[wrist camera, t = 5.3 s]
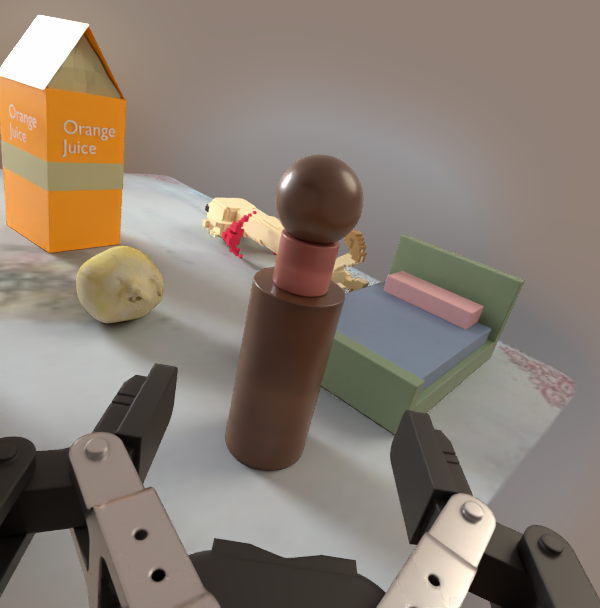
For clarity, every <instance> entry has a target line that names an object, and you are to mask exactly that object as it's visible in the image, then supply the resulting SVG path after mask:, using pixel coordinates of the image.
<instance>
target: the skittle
mask: <svg viewBox="0 0 600 608" xmlns="http://www.w3.org/2000/svg"><path fill="white" fill-rule="evenodd" d="M275 206H276V212H277V215H278V218H279V220H280V222H281V224H282V226H283V227H284V228H285V229H283V230H282V232H281V237H280V242H279V247H278V252H277V257H276V262H275V267H271V268H265V269H262V270H260V271H258V272H257V273H256V274H255V276H254V279H253V284H252V290H251V295H250V301H249V307H248V312H247V318H246V323H245V329H244V334H243V340H242V346H241V351H240V357H239V362H238V368H237V373H236V379H235V385H234V390H233V396H232V401H231V407H230V412H229V418H228V423H227V429H226V435H225V440H226V444H227V447H228V449H229V451H230V452H231V453H232V455H233V456H234V457H235V458H237V459H238V460H239V461H241V462H242V463H244V464H246V465H248V466H251V467H253V468H257V469H262V470H278V469H283V468H286V467H289V466H291V465H292V464H294V463H295V462H296V461H297V460H298V459H299V458H300V456H301V455H302V452H303V449H304V445H305V442H306V438H307V435H308V431H309V427H310V424H311V420H312V416H313V413H314V409H315V406H316V402H317V398H318V395H319V391H320V387H321V384H322V380H323V376H324V373H325V369H326V366H327V362H328V358H329V355H330V351H331V347H332V344H333V340H334V336H335V333H336V329H337V326H338V322H339V318H340V315H341V311H342V307H343V304H344V300H345V293H344V291H343V289H342V288H341V287H340V286H339V285H338V284H336V283H335V282H333V281H332V280H331V277H332V273H333V269H334V265H335V261H336V257H337V253H338V249H339V245H340V244H339V242H338V241H339V240H341V239H342V238H343V237H345V236H346V235H348V234H349V233H350V232H351V231H352V230H353V228H354V227H355V225H356V224H357V222H358V220H359V218H360V216H361V213H362V209H363V191H362V186H361V184H360V182H359V179H358V177H357V175H356V174H355V173H354V171H353V170H352V169H351V168H350V167H349V166H348V165H347V164H346V163H344V162H343V161H341V160H339V159H337V158H335V157H332V156H327V155H312V156H308V157H305V158H302V159H300V160H299V161H297V162H295V163H294V164H292V165H291V166H290V167H289V168H288V169H287V170H286V171H285V173H284V174H283V175H282V177H281V179H280V181H279V183H278V186H277V190H276V195H275Z"/></svg>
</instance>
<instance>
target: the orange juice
mask: <svg viewBox="0 0 600 608" xmlns="http://www.w3.org/2000/svg"><path fill="white" fill-rule="evenodd" d="M125 115H126V100H125V99H124V97H123V95H122V93H121V91H120V89H119V87H118V85H117V83H116V82H115V79H114V77H113V75H112V73H111V71H110V69H109V67H108V65H107V63H106V61H105V59H104V57H103V55H102V52H101V50H100V48H99V46H98V44H97V42H96V40H95V38H94V36H93V34H92V32H91V30H90V28H89V24H85V23H80V22H75V21H69V20H63V19H57V18H53V17H47V16H42V15H38V16H37V17H36V19H35V20H34V22H33V23H32V25H31V26H30V27H29V28H28V30H27V31H26V33H25V34H24V36H23V37H22V38H21V40H20V41H19V42H18V44H17V45H16V47H15V48H14V49H13V51H12V52H11V53H10V55H9V56H8V58H7V59H6V61H5V62H4V63H3V65H2V66H1V67H0V123H1V147H2V148H1V150H2V165H3V173H4V189H5V205H6V222H7V225H8V226H10V227H11V228H13V229H14V230H16V231H17V232H19V233H20V234H22V235H23V236H25V237H26V238H28V239H29V240H31V241H32V242H34V243H35V244H36V245H38V246H39V247H41V248H42V249H44V250H45V251H47V252H48V253H54V252H62V251H69V250H77V249H85V248H93V247H100V246H108V245H116V244H120V226H121V204H122V189H123V172H124V164H123V159H124V138H125V137H124V136H125Z"/></svg>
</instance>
